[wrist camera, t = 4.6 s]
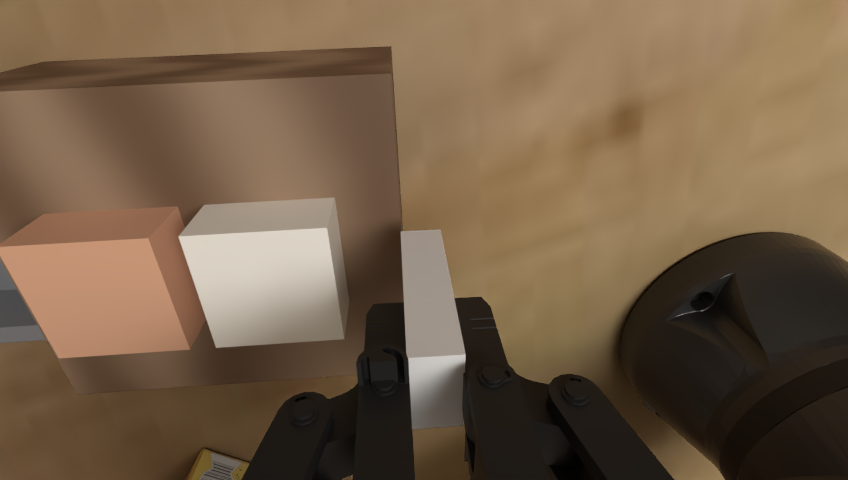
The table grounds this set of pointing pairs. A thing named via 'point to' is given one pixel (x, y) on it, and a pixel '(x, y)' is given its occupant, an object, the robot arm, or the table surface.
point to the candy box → (216, 467)
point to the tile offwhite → (269, 271)
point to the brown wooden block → (213, 176)
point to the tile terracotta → (107, 281)
